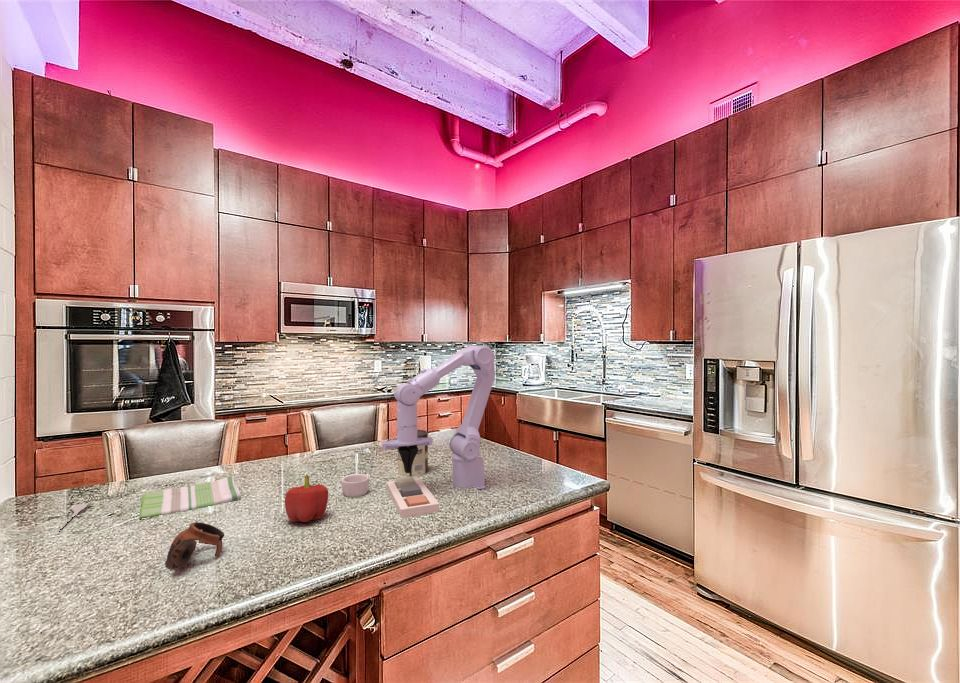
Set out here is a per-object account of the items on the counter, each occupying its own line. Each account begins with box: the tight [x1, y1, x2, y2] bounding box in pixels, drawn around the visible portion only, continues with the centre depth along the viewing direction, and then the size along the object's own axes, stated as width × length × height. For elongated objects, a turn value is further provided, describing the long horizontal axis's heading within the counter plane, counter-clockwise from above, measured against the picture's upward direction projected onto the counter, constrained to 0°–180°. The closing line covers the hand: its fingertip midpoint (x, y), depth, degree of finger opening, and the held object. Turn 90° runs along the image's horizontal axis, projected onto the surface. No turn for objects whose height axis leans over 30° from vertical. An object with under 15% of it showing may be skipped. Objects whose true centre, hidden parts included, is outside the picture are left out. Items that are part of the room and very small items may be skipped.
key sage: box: [395, 476, 416, 489], centre depth 127 cm, size 5×5×2 cm
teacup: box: [340, 473, 370, 498], centre depth 126 cm, size 10×8×5 cm
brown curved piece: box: [165, 521, 225, 570], centre depth 89 cm, size 12×10×8 cm
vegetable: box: [284, 475, 329, 523], centre depth 110 cm, size 11×10×10 cm
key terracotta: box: [406, 495, 428, 507], centre depth 114 cm, size 5×5×2 cm
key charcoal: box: [401, 484, 421, 497], centre depth 120 cm, size 5×5×2 cm
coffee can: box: [397, 429, 429, 477], centre depth 144 cm, size 10×10×14 cm
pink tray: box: [385, 477, 440, 519], centre depth 120 cm, size 10×22×3 cm, turn 22°
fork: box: [71, 502, 94, 518], centre depth 111 cm, size 3×21×3 cm, turn 22°
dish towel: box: [139, 475, 242, 520], centre depth 123 cm, size 17×23×4 cm
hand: (407, 472), depth 124 cm, fingers closed
